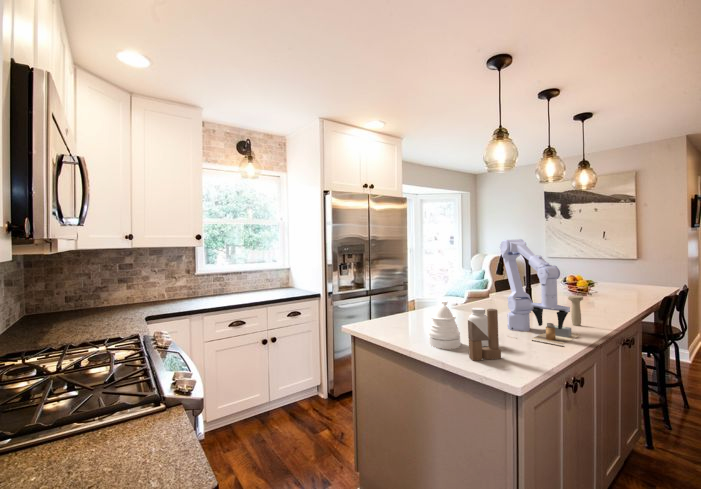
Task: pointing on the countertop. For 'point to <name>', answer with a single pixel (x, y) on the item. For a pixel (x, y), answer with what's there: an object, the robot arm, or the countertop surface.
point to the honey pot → (444, 329)
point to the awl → (550, 332)
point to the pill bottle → (480, 321)
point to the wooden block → (478, 336)
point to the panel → (558, 340)
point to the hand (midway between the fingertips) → (550, 326)
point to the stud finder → (563, 331)
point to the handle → (576, 310)
